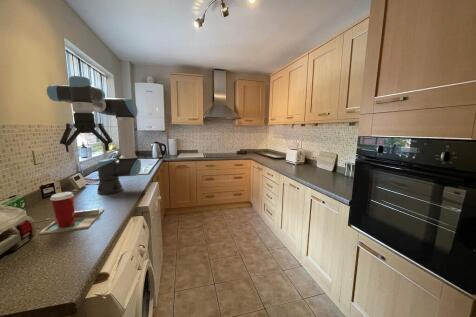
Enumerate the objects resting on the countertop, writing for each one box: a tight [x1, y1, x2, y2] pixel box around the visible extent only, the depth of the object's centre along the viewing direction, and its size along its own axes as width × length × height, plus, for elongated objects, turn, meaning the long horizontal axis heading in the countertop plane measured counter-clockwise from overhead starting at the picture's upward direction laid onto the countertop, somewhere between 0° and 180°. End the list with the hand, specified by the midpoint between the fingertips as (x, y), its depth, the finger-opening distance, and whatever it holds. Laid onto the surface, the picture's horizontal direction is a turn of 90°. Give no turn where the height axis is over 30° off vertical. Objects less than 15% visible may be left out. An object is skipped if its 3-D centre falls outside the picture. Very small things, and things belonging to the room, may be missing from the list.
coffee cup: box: [49, 191, 75, 228], centre depth 92 cm, size 8×8×15 cm
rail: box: [54, 208, 100, 221], centre depth 100 cm, size 2×18×3 cm, turn 106°
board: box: [38, 209, 105, 235], centre depth 97 cm, size 20×18×1 cm
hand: (89, 158), depth 94 cm, fingers open, 13 cm apart
